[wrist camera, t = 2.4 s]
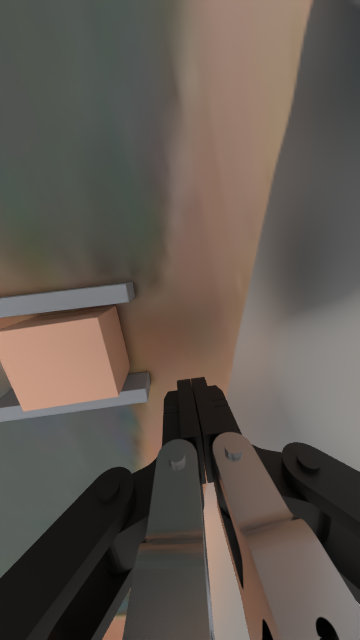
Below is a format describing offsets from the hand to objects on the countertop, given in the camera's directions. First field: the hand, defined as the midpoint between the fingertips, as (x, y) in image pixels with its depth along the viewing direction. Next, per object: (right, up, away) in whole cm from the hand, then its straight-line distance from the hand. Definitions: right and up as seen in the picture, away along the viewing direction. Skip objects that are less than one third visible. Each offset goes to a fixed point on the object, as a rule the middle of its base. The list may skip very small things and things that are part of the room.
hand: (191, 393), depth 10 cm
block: (-11, +2, +9) cm, 14 cm away
